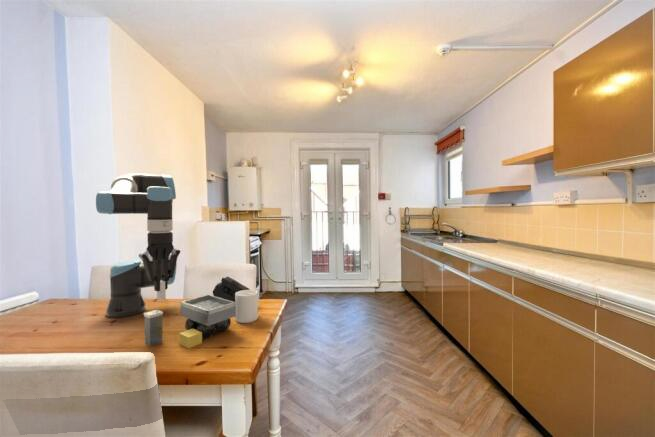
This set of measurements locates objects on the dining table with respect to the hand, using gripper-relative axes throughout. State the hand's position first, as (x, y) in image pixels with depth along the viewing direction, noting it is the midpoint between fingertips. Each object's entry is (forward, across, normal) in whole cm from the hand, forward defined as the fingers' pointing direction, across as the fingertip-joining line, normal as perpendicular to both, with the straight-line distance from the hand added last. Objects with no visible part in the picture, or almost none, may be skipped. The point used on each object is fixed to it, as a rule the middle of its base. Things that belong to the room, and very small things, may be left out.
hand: (161, 299), depth 100 cm
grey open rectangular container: (+17, +16, -3) cm, 23 cm away
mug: (+17, +34, -5) cm, 39 cm away
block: (+17, +7, -7) cm, 19 cm away
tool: (+17, +41, +14) cm, 46 cm away
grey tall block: (+17, 0, +5) cm, 17 cm away
